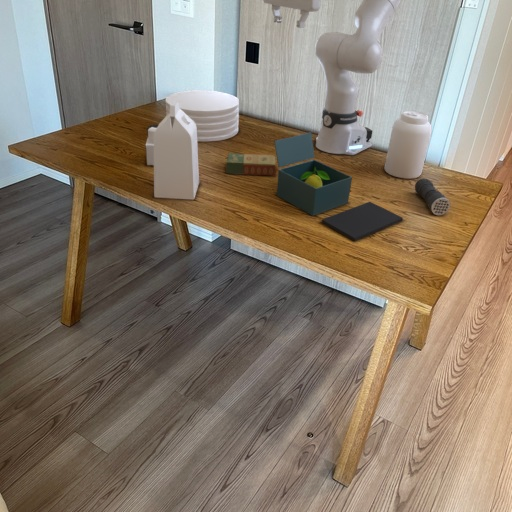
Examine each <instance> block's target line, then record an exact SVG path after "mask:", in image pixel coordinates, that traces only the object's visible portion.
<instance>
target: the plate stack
mask: <svg viewBox="0 0 512 512" xmlns="http://www.w3.org/2000/svg"><path fill="white" fill-rule="evenodd" d="M174 99H176V100H179V106H180V109H181V110H182V111H183V112H184V113H185V114H187V115H188V116H189V117H190V118H191V119H192V120H193V121H194V123H195V124H196V128H197V142H202V143H203V142H218V141H219V142H220V141H224V140H228V139H230V138H233V137H235V136H236V135H237V134H238V133H239V122H240V121H239V119H240V100H239V98H238V97H237V96H235V95H232V94H230V93H227V92H223V91H216V90H205V89H194V90H193V89H191V90H190V89H189V90H183V91H177V92H174V93H170V94H168V95H167V96H166V97H165V111H166V112H165V117H166V116H167V115H168V114H169V113H170V104H171V103H172V101H173V100H174Z"/></svg>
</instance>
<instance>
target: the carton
mask: <svg viewBox="0 0 512 512" xmlns="http://www.w3.org/2000/svg"><path fill="white" fill-rule="evenodd" d="M276 161H277V155H276V154H260V153H259V154H258V153H257V154H255V153H236V152H228V153H227V158H226V161H225V162H226V164H225V173H226V174H234V175H251V176H252V175H254V176H255V175H256V176H271V177H272V176H276V163H277V162H276Z"/></svg>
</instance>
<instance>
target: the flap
mask: <svg viewBox="0 0 512 512" xmlns="http://www.w3.org/2000/svg"><path fill="white" fill-rule="evenodd" d="M273 143H274V148H275V156H276V161H277V167H278V168H284V167H287V166H291V165H293V164H298V163H302V162H305V161H309V160H312V159H314V158H315V151H314V142H313V135H312V132H311V131H310V132H307V133H303V134H298V135H294V136H290V137H285V138H281V139H276V140H274V142H273Z"/></svg>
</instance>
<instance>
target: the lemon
mask: <svg viewBox="0 0 512 512" xmlns="http://www.w3.org/2000/svg"><path fill="white" fill-rule="evenodd" d="M315 170H316V169H315ZM315 170H314V174H313V175H311V174H312V173H313V172H309V171H308V172H305V173H304V174H303V175H302V176H301V179H300V180H304V179H306V180H305V183H307V184H309V185H311V186H312V187H314V188H319V187H322V181H321V179H320V177H321V178H322V179H325V180H330V178H329V176H328V174H327V173H326V172H324V171H317V170H316V171H317V173H318V175H319V176H317V175H316V174H315Z"/></svg>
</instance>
